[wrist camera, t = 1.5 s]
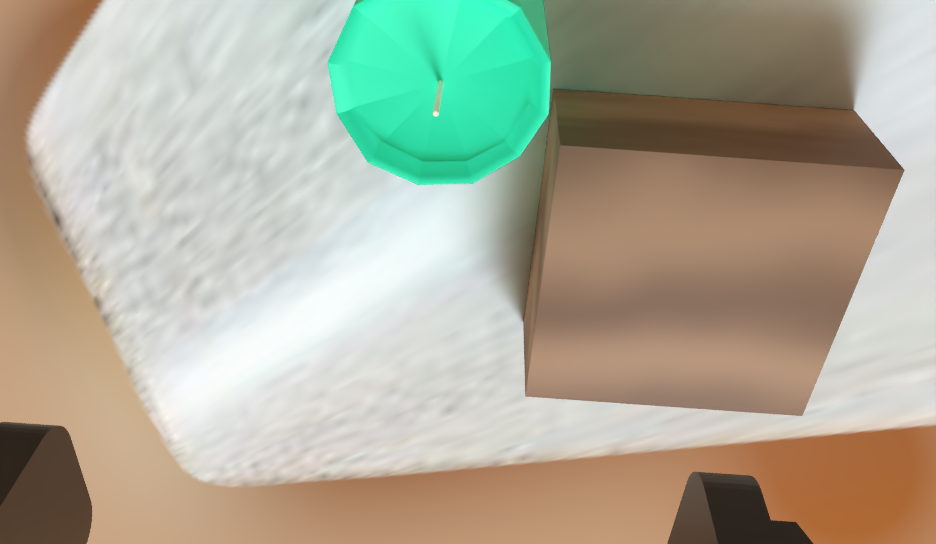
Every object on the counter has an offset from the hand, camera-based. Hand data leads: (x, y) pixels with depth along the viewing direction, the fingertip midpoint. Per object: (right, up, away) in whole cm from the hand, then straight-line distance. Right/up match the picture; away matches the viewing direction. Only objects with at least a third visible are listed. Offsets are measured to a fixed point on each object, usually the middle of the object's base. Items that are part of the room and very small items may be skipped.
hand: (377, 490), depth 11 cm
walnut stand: (+10, +5, +25) cm, 28 cm away
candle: (+1, +14, +20) cm, 24 cm away
